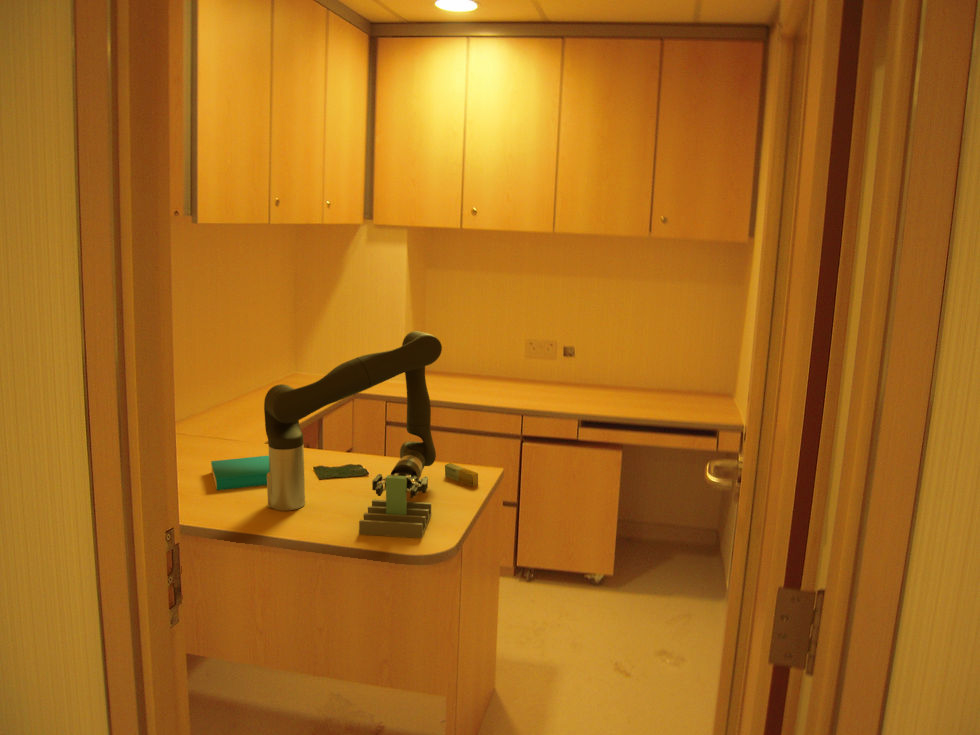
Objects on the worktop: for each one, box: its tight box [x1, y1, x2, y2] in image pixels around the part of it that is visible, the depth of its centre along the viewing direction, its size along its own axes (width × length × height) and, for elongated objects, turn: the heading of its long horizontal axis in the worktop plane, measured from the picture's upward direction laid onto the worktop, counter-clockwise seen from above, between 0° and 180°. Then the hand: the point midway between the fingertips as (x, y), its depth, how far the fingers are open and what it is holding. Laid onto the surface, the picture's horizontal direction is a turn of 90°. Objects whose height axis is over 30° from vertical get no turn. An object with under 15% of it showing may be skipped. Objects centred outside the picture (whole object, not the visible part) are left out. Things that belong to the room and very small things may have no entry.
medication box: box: [444, 463, 479, 487], centre depth 249 cm, size 12×3×4 cm, turn 47°
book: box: [210, 454, 269, 491], centre depth 248 cm, size 17×4×25 cm
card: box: [385, 474, 408, 515], centre depth 214 cm, size 5×2×12 cm, turn 85°
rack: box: [358, 499, 432, 539], centre depth 215 cm, size 16×15×4 cm
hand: (395, 493), depth 212 cm, fingers open, 8 cm apart
